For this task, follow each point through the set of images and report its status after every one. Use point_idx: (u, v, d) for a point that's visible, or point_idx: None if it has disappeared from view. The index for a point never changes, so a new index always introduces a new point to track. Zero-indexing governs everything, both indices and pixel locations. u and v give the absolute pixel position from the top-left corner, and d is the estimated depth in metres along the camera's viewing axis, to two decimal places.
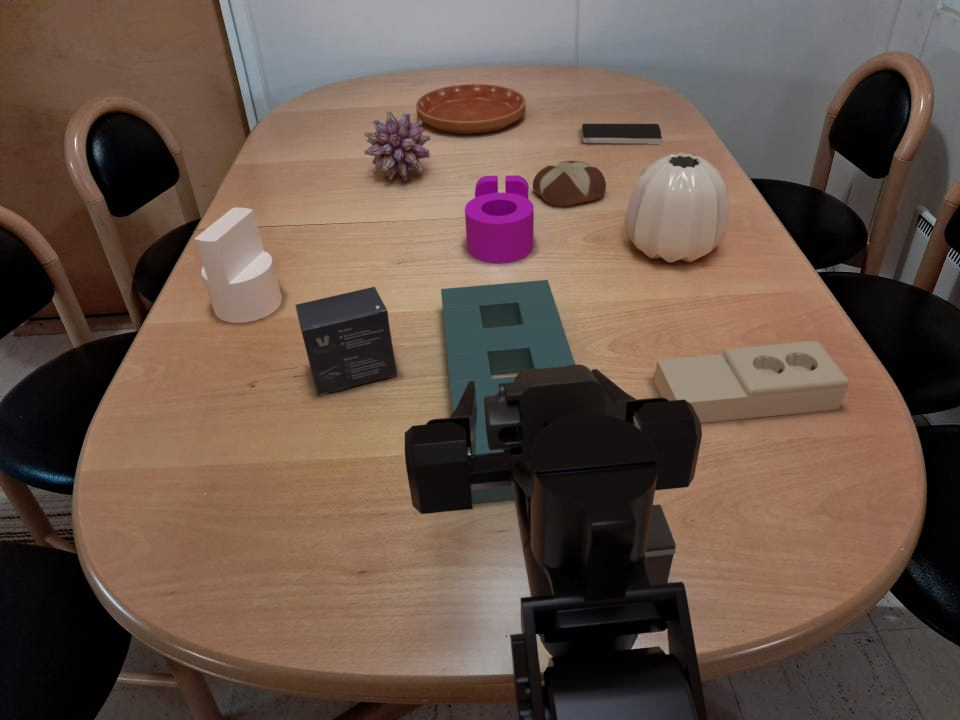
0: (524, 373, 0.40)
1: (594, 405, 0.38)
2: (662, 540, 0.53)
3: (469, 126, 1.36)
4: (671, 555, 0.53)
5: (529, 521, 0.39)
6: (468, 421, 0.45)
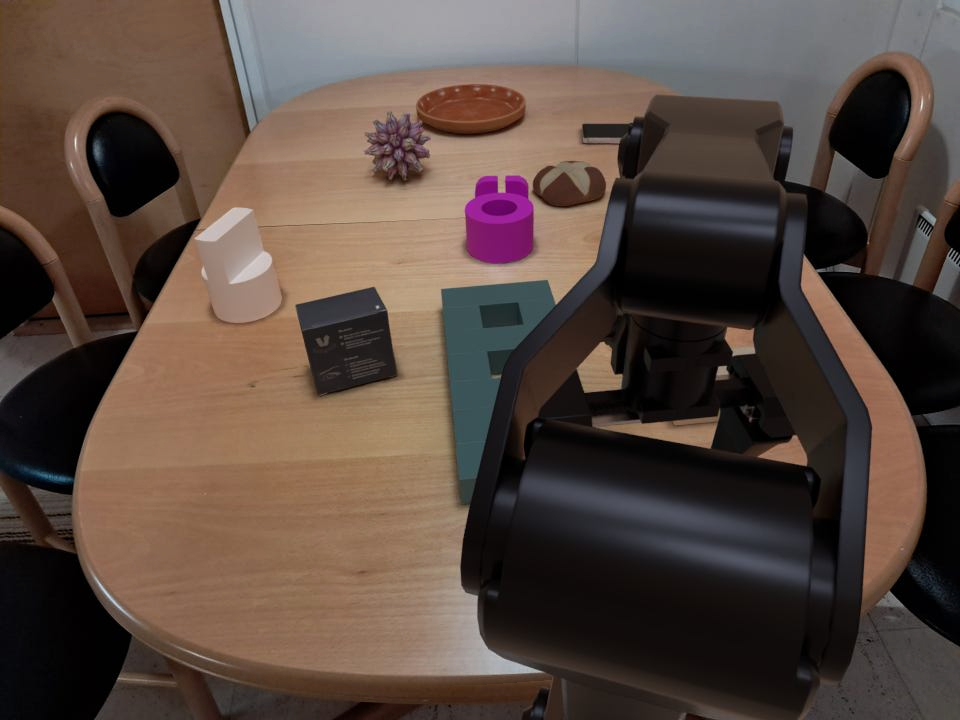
0: None
1: None
2: None
3: (469, 126, 1.36)
4: None
5: None
6: None
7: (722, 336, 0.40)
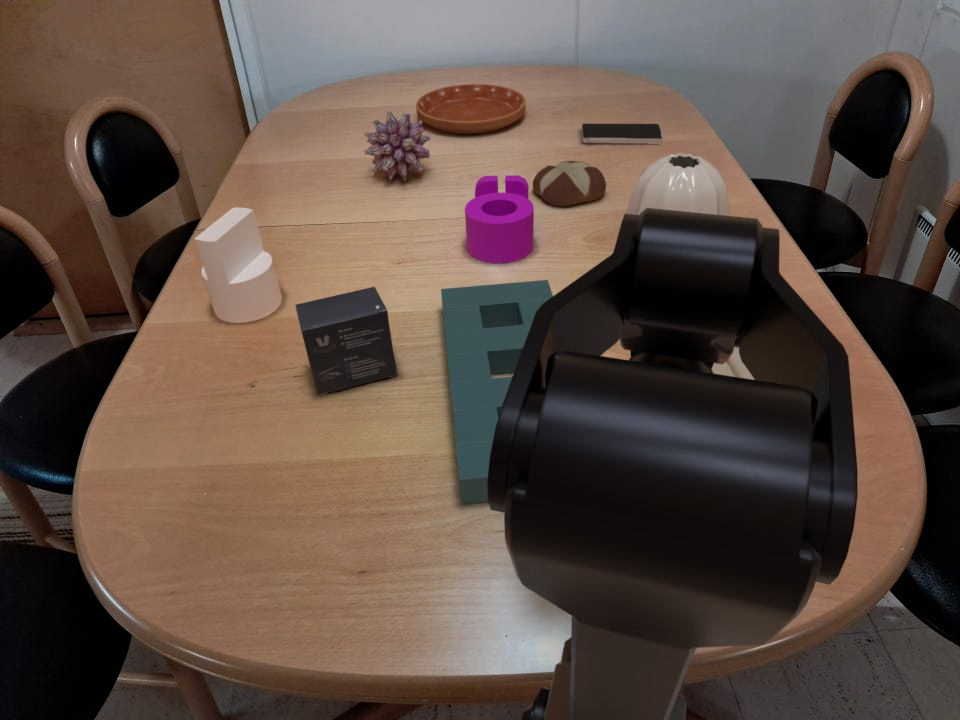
0: None
1: None
2: None
3: (469, 126, 1.36)
4: None
5: None
6: None
7: None
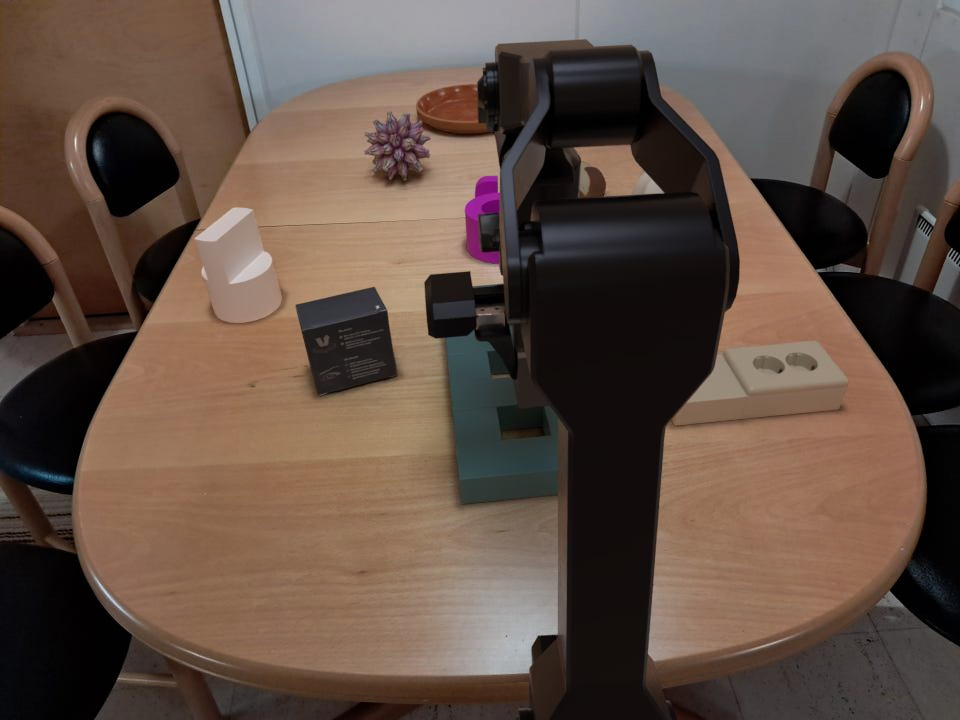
0: None
1: None
2: None
3: (469, 126, 1.36)
4: None
5: None
6: None
7: None
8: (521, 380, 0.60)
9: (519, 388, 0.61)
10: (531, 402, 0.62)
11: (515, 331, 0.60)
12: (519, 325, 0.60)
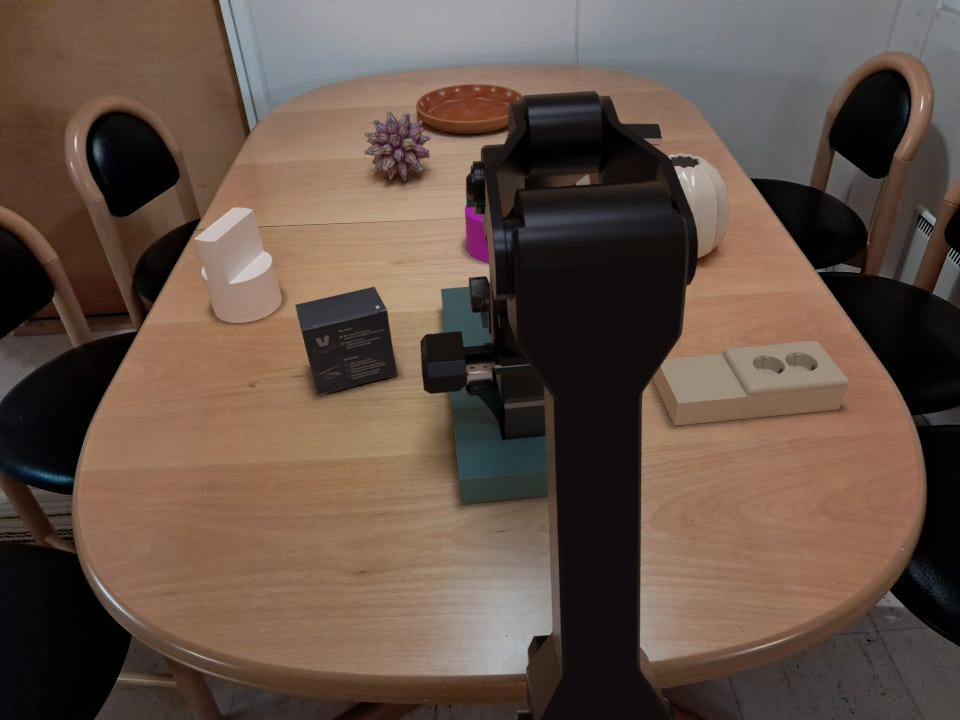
0: None
1: None
2: (536, 393, 0.65)
3: (469, 126, 1.36)
4: None
5: None
6: None
7: None
8: (507, 427, 0.66)
9: (506, 434, 0.67)
10: None
11: (502, 383, 0.66)
12: (506, 377, 0.67)
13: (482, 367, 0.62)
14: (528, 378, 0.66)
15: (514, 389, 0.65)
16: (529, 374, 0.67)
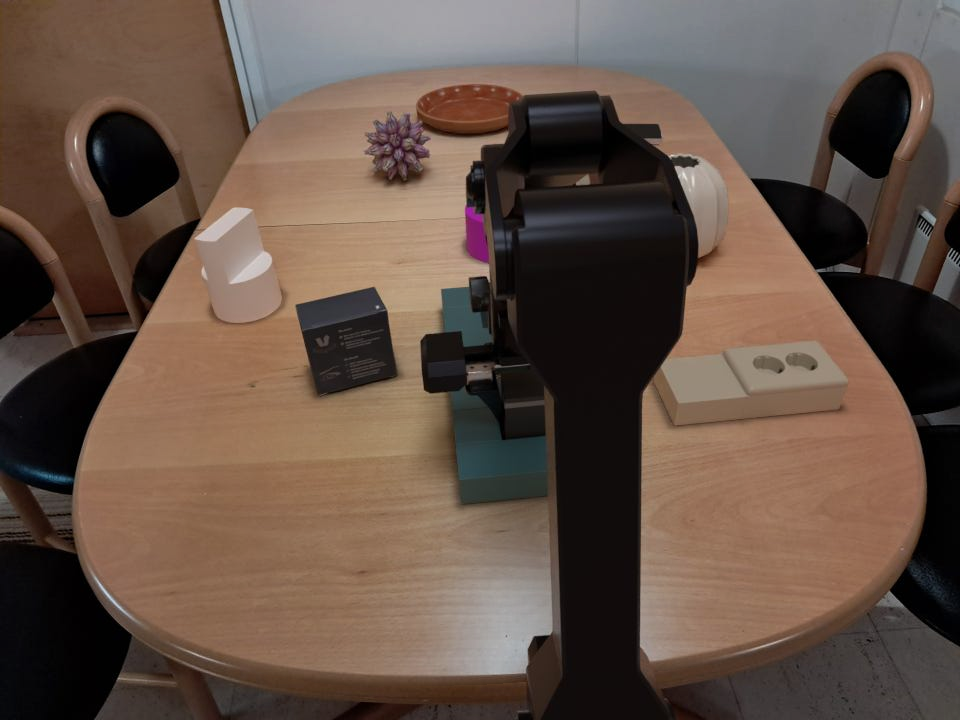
0: None
1: None
2: (537, 392, 0.65)
3: (469, 126, 1.36)
4: None
5: None
6: None
7: None
8: (508, 427, 0.66)
9: (506, 434, 0.67)
10: None
11: (502, 383, 0.66)
12: (506, 377, 0.67)
13: (482, 367, 0.62)
14: (528, 378, 0.66)
15: (514, 389, 0.65)
16: (529, 374, 0.67)
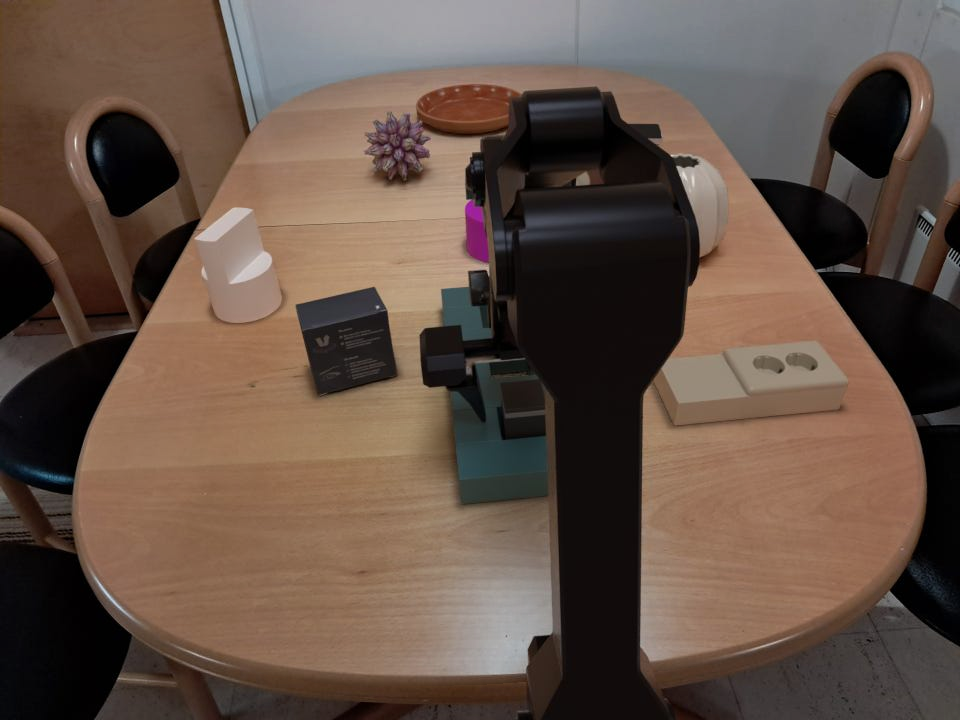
0: None
1: None
2: (536, 403, 0.66)
3: (469, 126, 1.36)
4: None
5: None
6: None
7: None
8: (508, 436, 0.67)
9: None
10: None
11: (503, 393, 0.67)
12: (506, 387, 0.68)
13: None
14: (528, 388, 0.67)
15: (514, 399, 0.66)
16: (529, 384, 0.68)
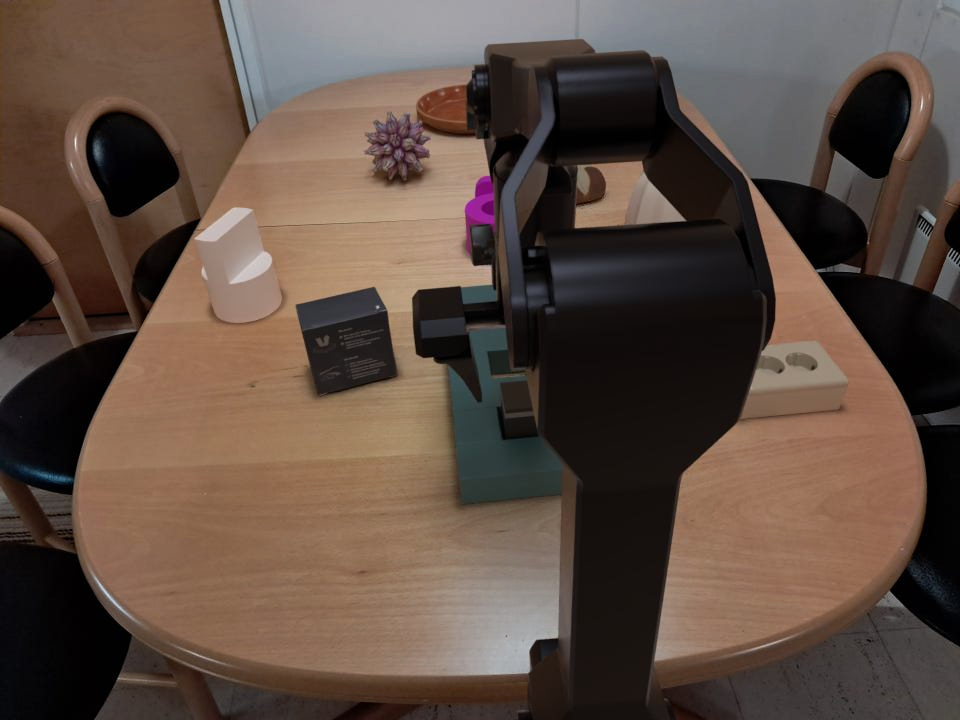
0: None
1: None
2: None
3: None
4: None
5: None
6: None
7: None
8: (508, 436, 0.67)
9: None
10: None
11: (503, 393, 0.67)
12: (506, 387, 0.68)
13: None
14: (528, 388, 0.67)
15: (514, 399, 0.66)
16: None
